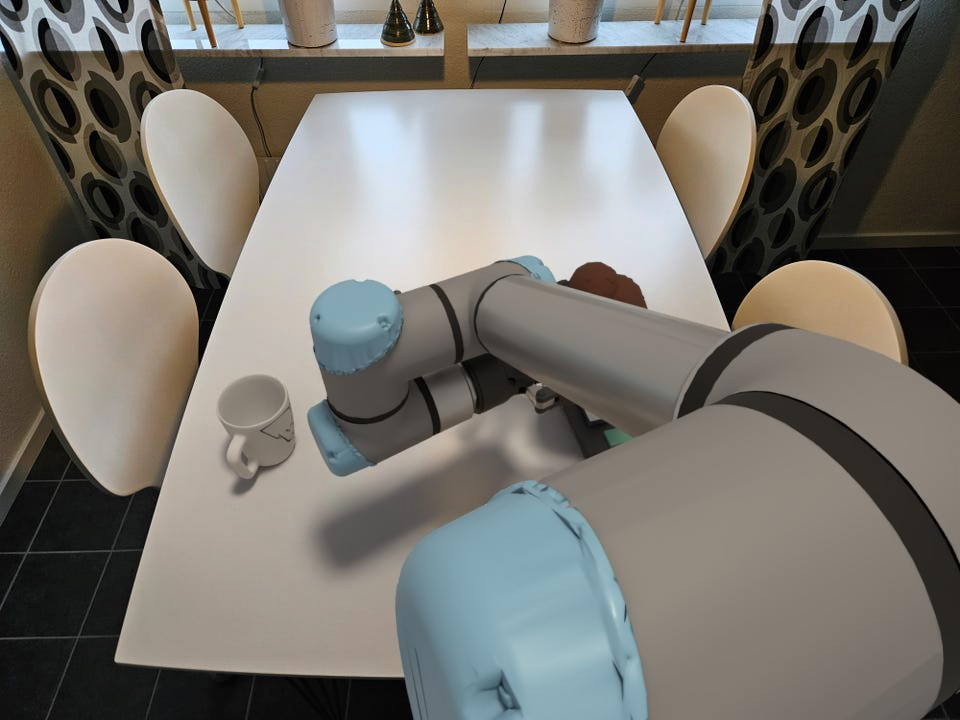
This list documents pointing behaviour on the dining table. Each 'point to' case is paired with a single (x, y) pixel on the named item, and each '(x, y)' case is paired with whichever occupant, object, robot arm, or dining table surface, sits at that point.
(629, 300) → the ice cream bowl
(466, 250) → the dining table surface
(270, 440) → the mug
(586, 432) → the scale
